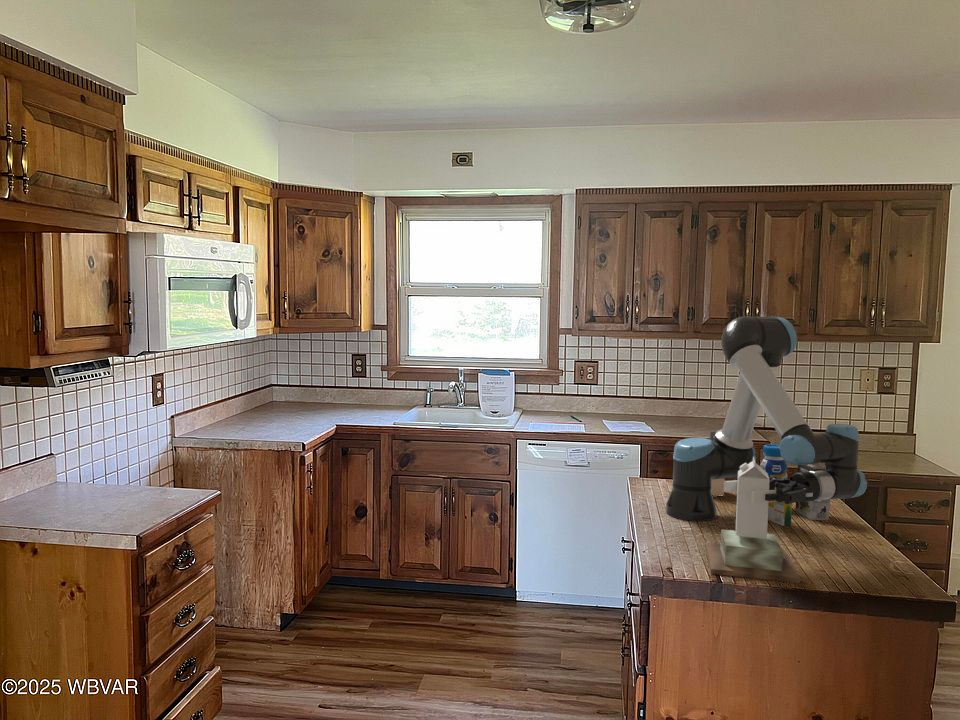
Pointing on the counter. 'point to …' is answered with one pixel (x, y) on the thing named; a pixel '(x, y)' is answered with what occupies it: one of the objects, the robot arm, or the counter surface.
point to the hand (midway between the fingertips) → (738, 491)
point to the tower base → (750, 571)
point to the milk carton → (750, 514)
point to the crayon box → (780, 513)
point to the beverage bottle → (774, 462)
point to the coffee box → (813, 508)
